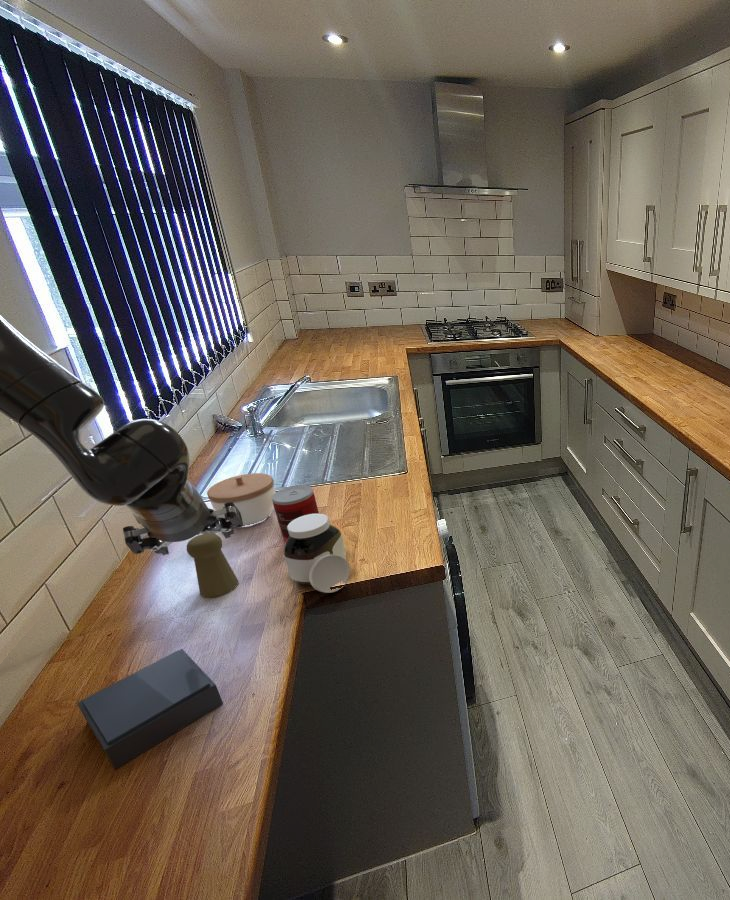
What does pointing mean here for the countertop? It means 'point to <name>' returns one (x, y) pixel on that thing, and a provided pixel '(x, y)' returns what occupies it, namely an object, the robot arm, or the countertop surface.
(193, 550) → the cork
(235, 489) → the lidded bowl
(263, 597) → the countertop surface
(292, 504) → the canned food
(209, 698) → the rectangular box
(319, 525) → the spread jar
